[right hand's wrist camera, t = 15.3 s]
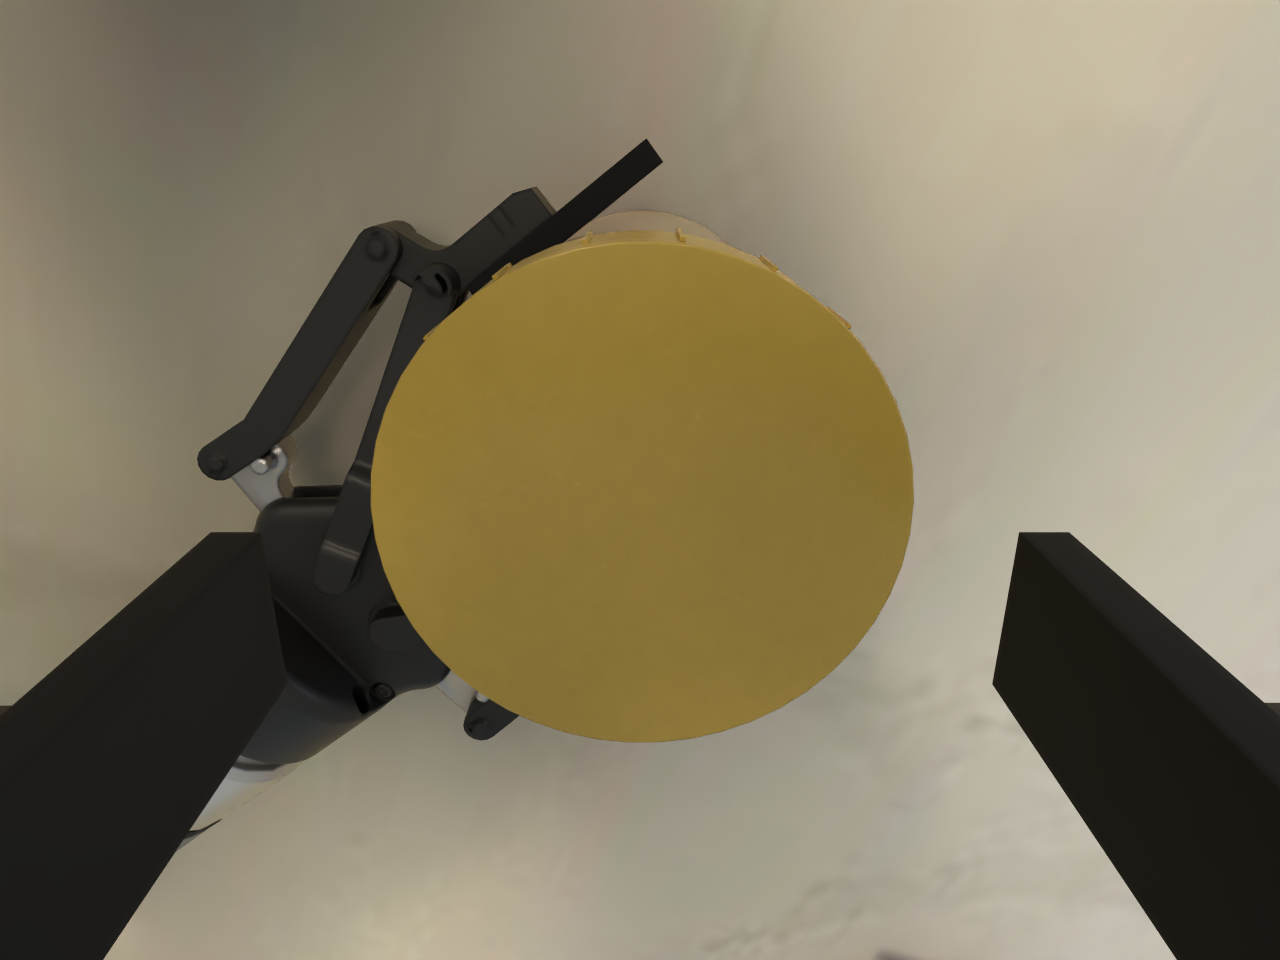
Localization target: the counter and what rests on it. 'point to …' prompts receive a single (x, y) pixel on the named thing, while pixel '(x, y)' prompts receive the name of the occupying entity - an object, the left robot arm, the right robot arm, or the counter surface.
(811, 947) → the counter surface
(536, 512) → the lid
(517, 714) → the left robot arm
